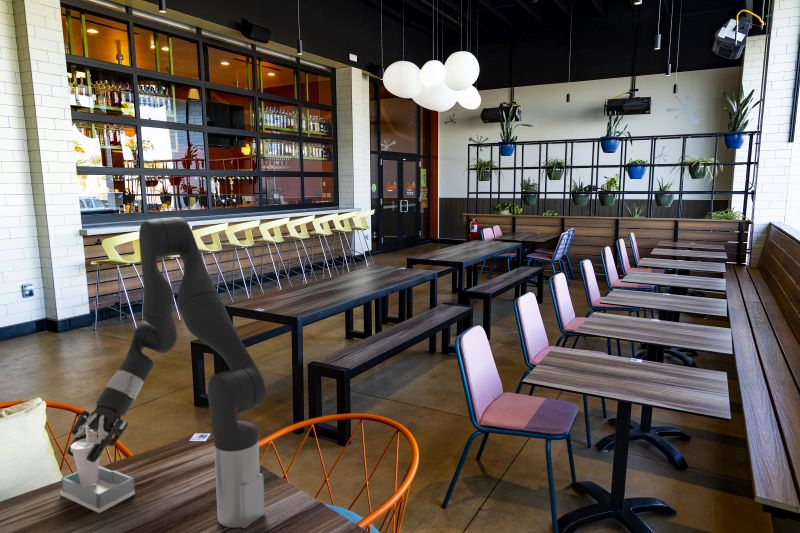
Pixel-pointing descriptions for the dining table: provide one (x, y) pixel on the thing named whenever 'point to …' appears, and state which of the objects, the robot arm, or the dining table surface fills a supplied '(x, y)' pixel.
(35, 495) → the dining table surface
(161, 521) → the dining table surface
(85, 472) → the smoothie
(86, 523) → the dining table surface
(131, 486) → the grey tray
